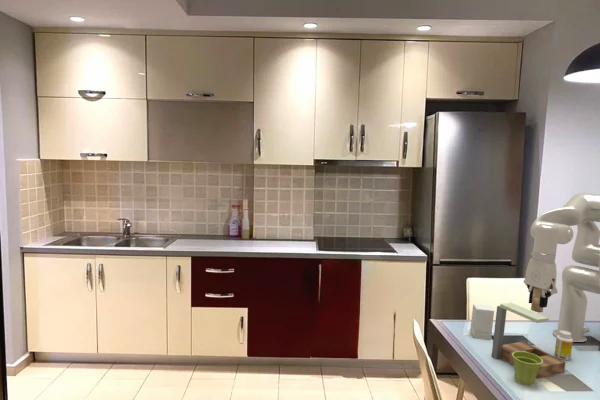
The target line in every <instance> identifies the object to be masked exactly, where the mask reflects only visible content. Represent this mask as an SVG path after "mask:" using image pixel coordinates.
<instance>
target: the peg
mask: <svg viewBox="0 0 600 400" xmlns="http://www.w3.org/2000/svg"><path fill="white" fill-rule="evenodd" d="M540 297H542V289H539V288H536V287H534V289H533V296H532V303H530V304H531V305H530V311H532V312H535V313H543V312H544V307H543V308H541V307H539V304H540Z"/></svg>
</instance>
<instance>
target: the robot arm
mask: <svg viewBox="0 0 600 400" xmlns="http://www.w3.org/2000/svg"><path fill="white" fill-rule="evenodd" d="M595 222H596V223H600V194H596V193H587V192H580V193H577V194H574V195H573V196H572V197H571V198H570V199H569V200H568V201H567V202H566V203H565V204H564V205H563V207H560V208H556V209H553V210H552V209H551V210H549V211H546V212H544V213H541V214H540V215H539V216H538V217H536V219H535V220H534V221H533V222H532V224H531V226H530V229H529V230H530V236H531V237H532V238H534V241H533V248H532V251H530V254H531V255H532V257H531V258H529V261H528V264H527V267H526V270H525V277H524V280H523V284H525V286H526V288H527V289H528V293H529V298H528V303H529V304H532V296H533V289H534V287H536V288H539V289H542V297H540V304H539V307H541V308H543V309H544V308H547V307H548V301H549V298H550V297H551V296H553V295H555V294H558V289H557V287H556V284H557V274H558V273H557V263H556V256H557V255H556V254H557V247H558V244H559V245H567V244H569V243H570V242H571V241H572V240H573V239H574V230H573V228H572V227H573V226H576V227H577V228H576V229H577V233H576V235H575V236H576V237H575V240H574V245H573V248H572V251H571V252H572V253H571V259H572V261H574V262H575V263H578V264H582V265H585V266H590V267H595V268H598V270H597V269H593V268H589V267H584V266H580V265H567V266H565V267H563V270H562V272H561V281H562V286H561V287H562V288H561V289H562V291H561V300H560V307H559V316H558V322H557V328H556V329H554V330H553V331H552V334H553V336H554V337H555V338H556V337H557V335H559V332H560V331H568V332H570V333H571V338H572V339H573V342H584V341H586V342H587V337H586V336H585V335H584V334H585V333H589V332H590V329H589V327H585V323H586V322H585V321H586V314H587V306H588V297H587V296H586V294H585V292H589V293H593V294H596V295H600V244H599V243H600V229H599V227H598V225H597V224H596V223H595Z"/></svg>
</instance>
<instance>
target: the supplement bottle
mask: <svg viewBox="0 0 600 400" xmlns="http://www.w3.org/2000/svg"><path fill="white" fill-rule="evenodd" d="M573 345H574V343H573V339H572V338H571V333H570V332H568V331H560V332H559V335H557V337H556V336H555V345H554V353H553V354H554V355H553V356H554V357H556V358H558V359H560V360H562V361H569V360H571V358H572V350H573Z"/></svg>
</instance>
